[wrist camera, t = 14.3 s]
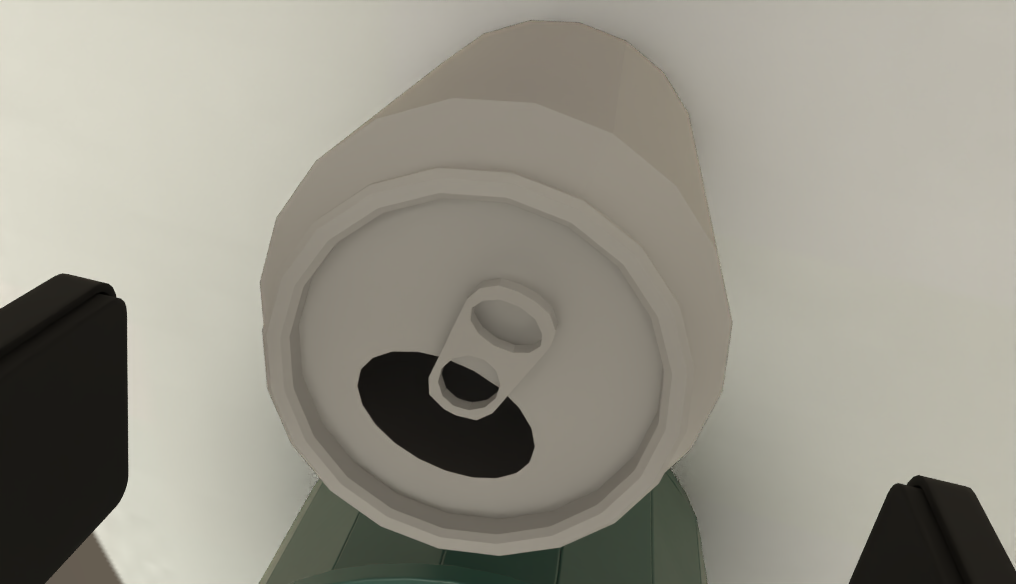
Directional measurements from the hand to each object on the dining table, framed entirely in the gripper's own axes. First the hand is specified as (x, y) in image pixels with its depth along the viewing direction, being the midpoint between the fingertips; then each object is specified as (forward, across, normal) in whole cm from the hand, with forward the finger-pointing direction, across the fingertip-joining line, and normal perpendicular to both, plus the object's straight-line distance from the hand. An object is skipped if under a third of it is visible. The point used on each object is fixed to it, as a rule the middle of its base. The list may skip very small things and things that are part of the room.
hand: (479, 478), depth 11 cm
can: (+14, +1, 0) cm, 14 cm away
